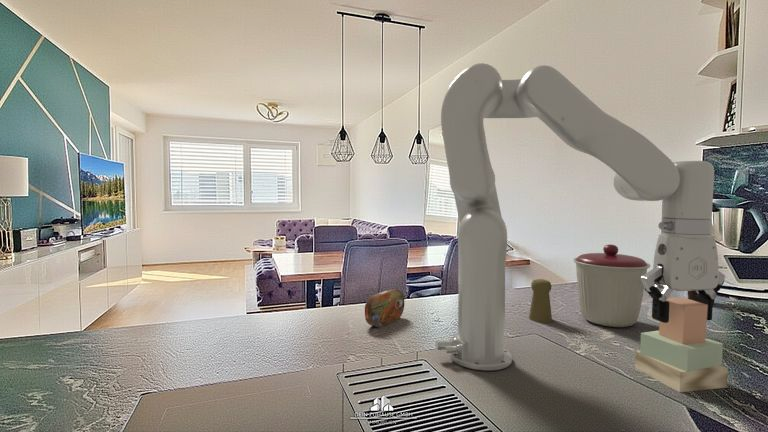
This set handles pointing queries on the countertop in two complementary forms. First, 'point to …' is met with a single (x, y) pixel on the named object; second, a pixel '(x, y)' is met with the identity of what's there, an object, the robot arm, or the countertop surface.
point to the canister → (610, 287)
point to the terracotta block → (685, 321)
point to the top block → (681, 352)
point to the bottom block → (682, 375)
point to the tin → (384, 308)
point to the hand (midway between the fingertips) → (681, 319)
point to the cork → (540, 301)
